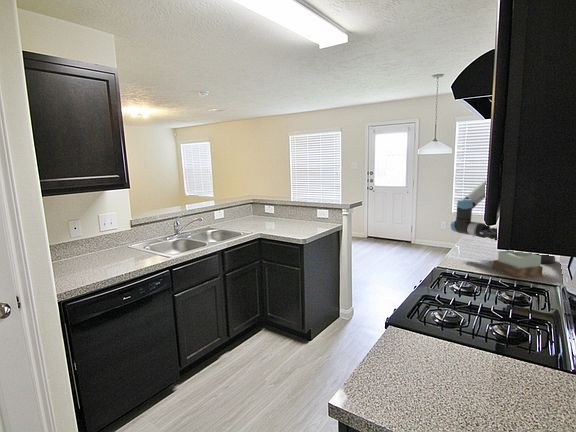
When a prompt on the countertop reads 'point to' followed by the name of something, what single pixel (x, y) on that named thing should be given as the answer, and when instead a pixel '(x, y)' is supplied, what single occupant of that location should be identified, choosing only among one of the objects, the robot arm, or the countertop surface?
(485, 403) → the countertop surface
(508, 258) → the tower top
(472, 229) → the robot arm
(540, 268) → the tower base
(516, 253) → the gray faceted rock
